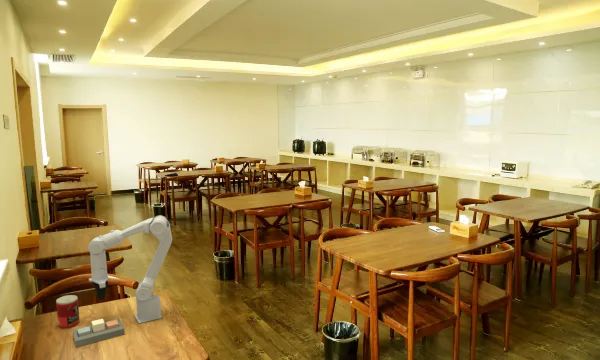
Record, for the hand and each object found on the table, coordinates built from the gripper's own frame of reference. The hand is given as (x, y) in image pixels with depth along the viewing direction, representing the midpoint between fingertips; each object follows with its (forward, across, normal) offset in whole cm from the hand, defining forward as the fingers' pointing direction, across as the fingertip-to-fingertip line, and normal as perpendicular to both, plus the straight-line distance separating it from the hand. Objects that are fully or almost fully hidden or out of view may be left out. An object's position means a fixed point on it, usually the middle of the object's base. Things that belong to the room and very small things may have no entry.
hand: (101, 298), depth 170 cm
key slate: (+10, +10, -8) cm, 16 cm away
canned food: (+11, -6, -12) cm, 17 cm away
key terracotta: (+10, +10, +2) cm, 15 cm away
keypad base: (+10, +10, -3) cm, 15 cm away
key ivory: (+8, +10, -3) cm, 13 cm away
